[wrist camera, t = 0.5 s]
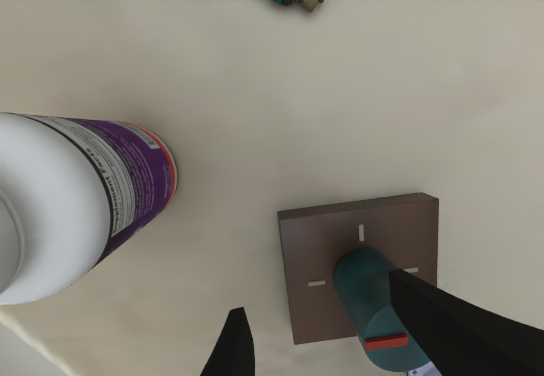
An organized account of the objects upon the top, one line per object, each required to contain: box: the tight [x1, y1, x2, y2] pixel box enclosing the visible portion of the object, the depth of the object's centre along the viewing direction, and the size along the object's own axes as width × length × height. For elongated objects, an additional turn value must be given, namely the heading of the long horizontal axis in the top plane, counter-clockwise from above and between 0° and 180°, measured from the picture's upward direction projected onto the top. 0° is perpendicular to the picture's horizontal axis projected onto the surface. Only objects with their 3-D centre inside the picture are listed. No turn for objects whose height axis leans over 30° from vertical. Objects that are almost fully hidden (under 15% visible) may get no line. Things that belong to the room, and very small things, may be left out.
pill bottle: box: [0, 113, 177, 305], centre depth 14 cm, size 8×8×14 cm
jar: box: [333, 249, 430, 372], centre depth 18 cm, size 5×5×7 cm
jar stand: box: [277, 193, 439, 345], centre depth 22 cm, size 13×12×2 cm
